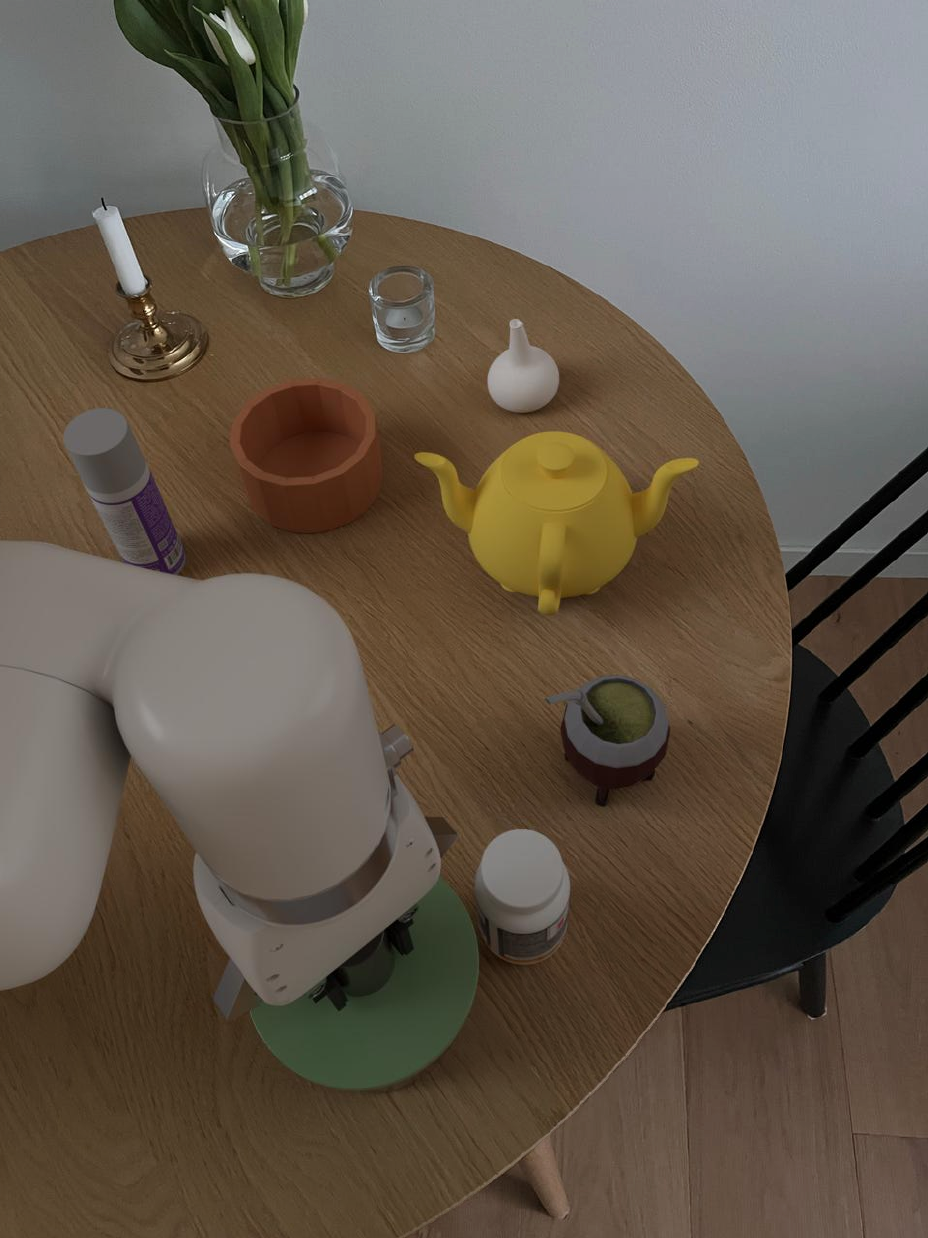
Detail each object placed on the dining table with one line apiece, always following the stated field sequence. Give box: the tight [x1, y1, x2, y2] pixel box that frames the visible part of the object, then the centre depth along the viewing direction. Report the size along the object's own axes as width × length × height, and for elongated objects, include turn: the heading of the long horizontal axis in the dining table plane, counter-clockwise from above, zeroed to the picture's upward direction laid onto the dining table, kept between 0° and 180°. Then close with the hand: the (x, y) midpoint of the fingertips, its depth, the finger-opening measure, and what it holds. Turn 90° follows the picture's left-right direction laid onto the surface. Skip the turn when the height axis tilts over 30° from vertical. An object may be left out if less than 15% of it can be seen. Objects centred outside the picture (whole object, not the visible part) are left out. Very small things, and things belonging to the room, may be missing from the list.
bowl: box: [229, 377, 384, 534], centre depth 87 cm, size 12×12×6 cm
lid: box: [248, 875, 480, 1092], centre depth 55 cm, size 13×13×7 cm
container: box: [62, 407, 187, 576], centre depth 79 cm, size 5×5×15 cm
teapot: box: [414, 430, 700, 616], centre depth 79 cm, size 20×15×12 cm
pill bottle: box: [474, 828, 572, 966], centre depth 64 cm, size 6×6×10 cm
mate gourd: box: [544, 674, 671, 807], centre depth 67 cm, size 8×8×15 cm
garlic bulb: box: [487, 318, 560, 414], centre depth 91 cm, size 6×6×8 cm
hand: (359, 957), depth 56 cm, fingers closed on lid, 3 cm apart
